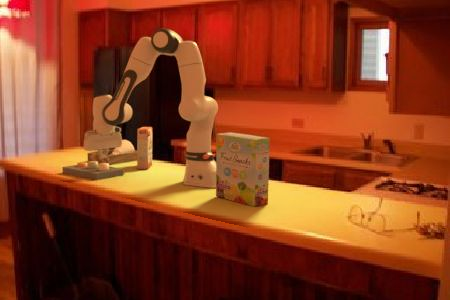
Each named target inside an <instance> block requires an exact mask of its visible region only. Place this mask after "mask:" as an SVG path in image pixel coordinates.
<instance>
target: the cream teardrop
mask: <svg viewBox="0 0 450 300" xmlns="http://www.w3.org/2000/svg"><path fill="white" fill-rule="evenodd" d="M113 149H114V151H113V152H112V153H111V154H110V155H117V154H124V153H131V152H134V151H135V150H136V149H135V147H134V145H133V144H132V142H131V141H129V140H127V139H122V145H121V147H116V148H113ZM110 155H109V156H110Z"/></svg>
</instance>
